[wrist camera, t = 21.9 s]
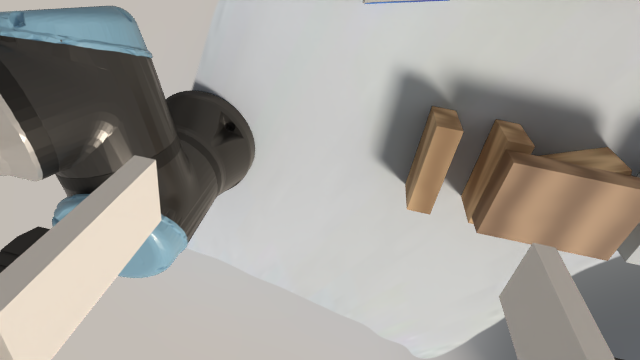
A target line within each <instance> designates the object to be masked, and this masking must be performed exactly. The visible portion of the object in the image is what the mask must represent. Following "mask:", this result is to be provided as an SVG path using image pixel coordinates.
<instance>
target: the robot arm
mask: <svg viewBox="0 0 640 360" xmlns="http://www.w3.org/2000/svg"><path fill="white" fill-rule="evenodd" d="M151 58H152V54H151V53H150V52H149V51H148V50H147V47H146V45H145V42H144V40H143V38H142V35H141V33H140V30H139V28H138V26H137V23H136V21H135V19H134V18H133V17H132V16H131V14H129V13H128V12H127V11H125V10H124V9H122V8H119V7H116V6H99V7H79V8H63V9H62V8H61V9H44V10H28V11H27V10H26V11H8V12H0V176H7V175H8V176H14V177H18V178H22V179H27V180H31V181H39V180H42V179H44V178H46V177H49V176H51V175H53V174H56V176H57V178H58V180H59V181H60V183H61V185H62V187H63V188H64V190H65V192H66V194H67V198H65V199H63V200H62V201H61V202H60V203H59V204H58V205H57V209H56V210H55V212H54V217H53V219H52V225H53V227H52V228H51V229H46V228H42V227H36V228H34V229H32V230H30V231H28V232H26V233H24V234H22V235H20V236H18V237H17V238H15V239H14V240H13V241H11V242H10V243H9V244H8V245H6V246H5V247H4V248H3V249H2V250H1V252H0V360H51V359H52V358H53V357H54V356H55V354H56V353H57V352H58V351H59V349H60V348H61V347H62V345H63V344H64V343H65V342H66V340H67V339H68V338H69V337H70V335H71V334H72V333H73V332H74V330H75V329H76V328H77V327H78V325H79V324H80V323H81V321H82V320H83V319H84V318H85V316H86V315H87V314H88V312H89V311H90V310H91V309H92V308H93V306H94V305H95V304H96V302H97V301H98V300H99V299H100V297H101V296H102V295H103V294H104V292H105V291H106V290H107V288H108V287H109V286H110V285H111V283H112V282H113V281H114V280H115V278H116V277H117V276H122V277H130V278H143V277H150V276H154V275H157V274H159V273H161V272H163V271H164V270H166V269H167V268H168V267H169V266H170V265H171V264H172V263H173V262H174V260H175V259H176V257H177V256H178V255H179V254H180V253H181V252H182V251H183V250H184V249H185V248H186V247H187V244H188V242H189V241H190V239H191V237H192V236H193V234H194V232H195V231H196V229H197V228H198V226H199V224H200V223H201V221H202V220H203V218H204V216H205V215H206V213H207V212H208V210H209V208H210V207H211V205H212V203H213V202H214V200H215V199H216V197H217V196H218V195H220V194H222V193H223V192H225V191H226V190H229V189H231V188H232V187H234V186H236V185H237V184H238V183H239V182H240V181H241V180H242V179H243V178H244V177H245V175H246V174H247V172H248V170H249V169H250V167H251V165H252V163H253V159H254V155H255V144H254V138H253V135H252V132H251V130H250V128H249V126H248V124H247V122H246V121H245V119H244V118H243V116H242V115H241V114H240V113H239V112H238V111H237V110H236V109H235V108H234V107H233V106H232V105H230V104H229V103H228V102H226V101H225V100H223V99H221V98H219V97H217V96H215V95H212V94H209V93H206V92H201V91H183V92H179V93H176V94H174V95H172V96H170V97H168V98H167V99H165V96H164V93H163V91H162V88H161V85H160V82H159V79H158V76H157V73H156V70H155V68H154V65H153V62H152V59H151ZM499 298H500V301H501V305H502V308H503V311H504V315H505V318H506V321H507V325H508V328H509V331H510V335H511V337H512V341H513V344H514V347H515V351H516V354H517V358H518V360H622V359H618V358H614V357H613V355H612V353H611V351H610V349H609V347H608V345H607V344H606V342H605V340H604V338H603V336H602V334H601V332H600V331H599V328H598V326H597V325H596V323H595V321H594V319H593V317H592V315H591V313H590V311H589V310H588V307H587V306H586V304H585V302H584V300H583V298H582V296H581V294H580V293H579V290H578V289H577V287H576V285H575V283H574V281H573V279H572V277H571V275H570V273H569V271H568V270H567V268H566V266H565V264H564V262H563V260H562V258H561V256H560V254H559V253H558V251H557V249H556V248H555V247H551V246H546V245H541V244H537V243H532V245H531V247H530V248H529V250H528V251H527V253H526V255H525V256H524V258H523V259H522V261H521V263H520V264H519V266H518V267H517V269H516V270H515V272H514V274H513V275H512V277H511V278H510V280H509V282H508V283H507V285H506V286H505V288H504V289H503V291H502V293H501V294H500V296H499Z"/></svg>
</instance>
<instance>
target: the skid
mask: <svg viewBox="0 0 640 360" xmlns="http://www.w3.org/2000/svg"><path fill="white" fill-rule="evenodd" d="M540 157H544V158H549V159H554V160H559V161H563V162H568V163H573V164H577V165H582V166H587V167H592V168H596V169H601V170H606V171H610V172H615V173H620V174H625V175H629V176H631V173H632V170H631V169H630V168H629V167H628V166H627V165H626V164H625V163H624V162H623V161H622V160H621V159H620V158H619V157H618V156H617V155H616V154H615V153H614V152H613V151H612V150H611V149H610V148H608V147H604V148H596V149H588V150H580V151H572V152H564V153H556V154H548V155H541V156H540Z"/></svg>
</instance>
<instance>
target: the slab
mask: <svg viewBox="0 0 640 360" xmlns="http://www.w3.org/2000/svg"><path fill="white" fill-rule="evenodd" d="M472 220H473V223H474V226H475V229H476V232H477V233H480V234H485V235H490V236H494V237H499V238H504V239H508V240H513V241H518V242H522V243H527V244H532V243H537V244H541V245H546V246H551V247H555V248H556V249H557V250H560V251H564V252H569V253H574V254H578V255H583V256H588V257H592V258H597V259H602V260H607V261H608V260H609V258H610V257H611V256H612V255H613V254H614V252H615V251H616V250H617V249H618V248H619V246H620V245H621V244H622V243H623V242H624V240H625V239H626V238H627V237H628V236H629V234H630V233H631V232H632V231H633V229H634V228H635V227H636V226H637V225H638V223H639V222H640V178H639V177H634V176H629V175H625V174H620V173H615V172H610V171H606V170H601V169H596V168H592V167H587V166H582V165H577V164H573V163H568V162H563V161H559V160H554V159H549V158H544V157H540V156H535V155H530V154H526V153H521V152H516V151H511V150H507V149H506V150H505V152H504V154H503V156H502V158H501V160H500V162H499V164H498V166H497V168H496V170H495V172H494V174H493V176H492V178H491V180H490V182H489V184H488V186H487V188H486V190H485V192H484V194H483V196H482V198H481V200H480V202H479V204H478V205H477V207H476V209H475V211H474V213H473V215H472Z"/></svg>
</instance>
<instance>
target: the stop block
mask: <svg viewBox="0 0 640 360" xmlns="http://www.w3.org/2000/svg"><path fill="white" fill-rule="evenodd" d="M637 177H639V178H640V173H639V174H638V175H637ZM617 251H618V252H619V254H620V255H621V256H622V258H623V259H624V260H625V262H628V263H633V264H637V265H640V222H639V223H638V225H637V226H636V227H635V228H634V229H633V231H632V232H631V233H630V234H629V236H628V237H627V238H626V239H625V240H624V242H623V243H622V244H621V245H620V246H619V248H618V249H617Z"/></svg>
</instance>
